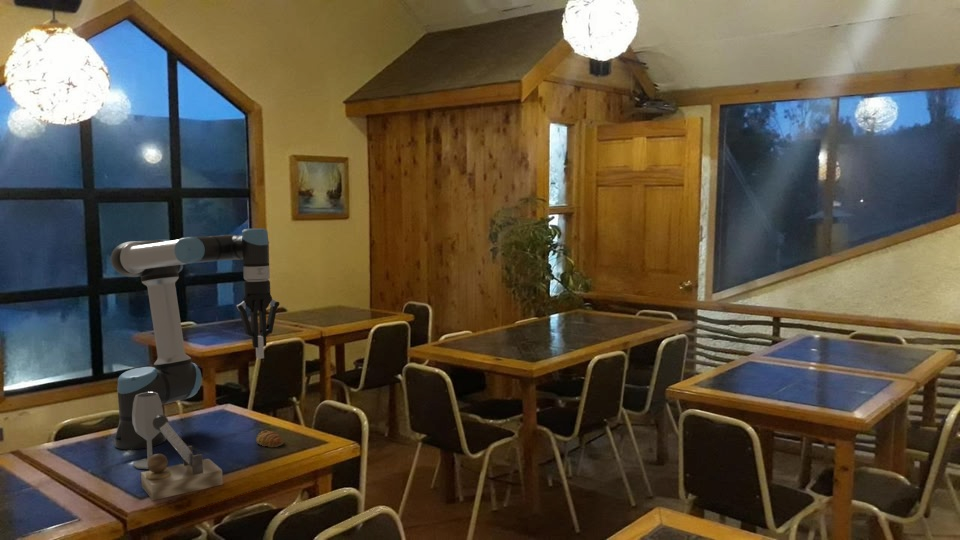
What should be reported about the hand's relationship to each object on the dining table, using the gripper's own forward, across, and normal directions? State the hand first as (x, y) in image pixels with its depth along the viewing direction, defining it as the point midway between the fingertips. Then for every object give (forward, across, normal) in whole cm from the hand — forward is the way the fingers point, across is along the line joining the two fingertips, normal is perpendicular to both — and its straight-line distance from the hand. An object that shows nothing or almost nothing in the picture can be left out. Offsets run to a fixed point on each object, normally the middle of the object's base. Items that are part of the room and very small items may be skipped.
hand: (260, 357), depth 232 cm
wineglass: (+30, -30, +10) cm, 44 cm away
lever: (+23, -25, -13) cm, 36 cm away
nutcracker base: (+29, -28, -13) cm, 42 cm away
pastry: (+30, +5, +8) cm, 31 cm away
